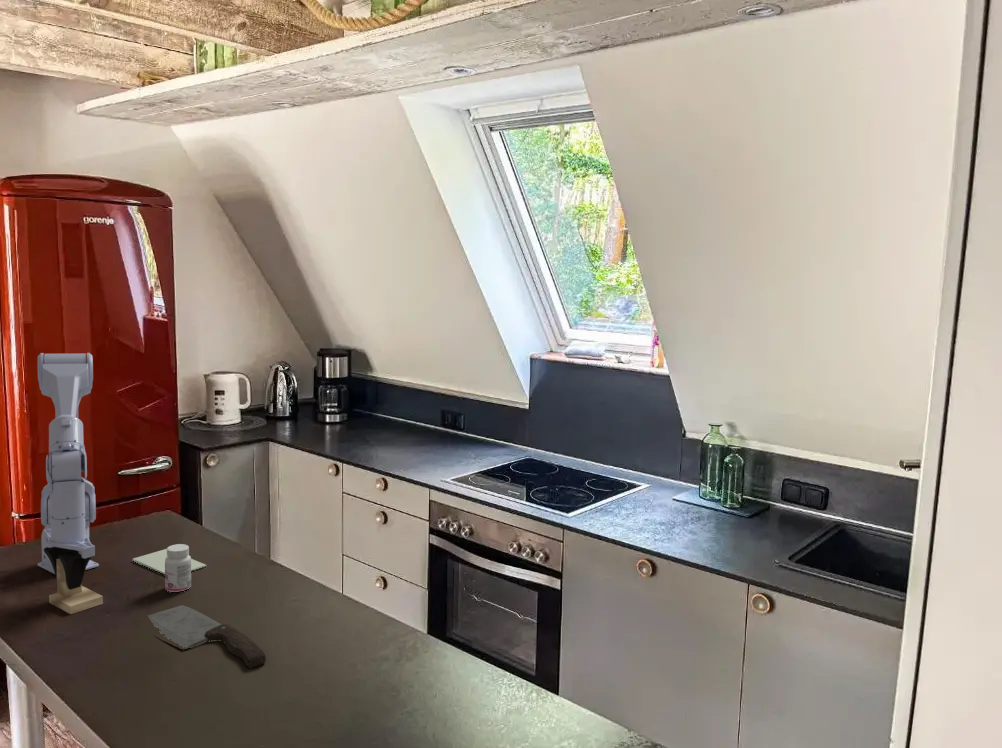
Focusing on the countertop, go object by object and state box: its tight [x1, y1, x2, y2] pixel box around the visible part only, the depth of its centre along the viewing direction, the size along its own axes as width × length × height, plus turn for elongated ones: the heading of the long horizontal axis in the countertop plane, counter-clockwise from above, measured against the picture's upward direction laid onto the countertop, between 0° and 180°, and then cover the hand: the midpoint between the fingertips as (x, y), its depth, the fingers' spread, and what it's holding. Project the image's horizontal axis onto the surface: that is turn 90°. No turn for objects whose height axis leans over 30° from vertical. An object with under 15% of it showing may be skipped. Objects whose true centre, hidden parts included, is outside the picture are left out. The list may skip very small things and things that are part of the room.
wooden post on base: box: [48, 559, 104, 615], centre depth 151 cm, size 8×6×8 cm
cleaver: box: [147, 604, 267, 669], centre depth 140 cm, size 29×10×2 cm, turn 52°
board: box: [132, 548, 207, 574], centre depth 172 cm, size 14×8×1 cm, turn 55°
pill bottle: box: [164, 543, 192, 593], centre depth 160 cm, size 5×5×8 cm
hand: (69, 585), depth 152 cm, fingers closed on wooden post on base, 3 cm apart
